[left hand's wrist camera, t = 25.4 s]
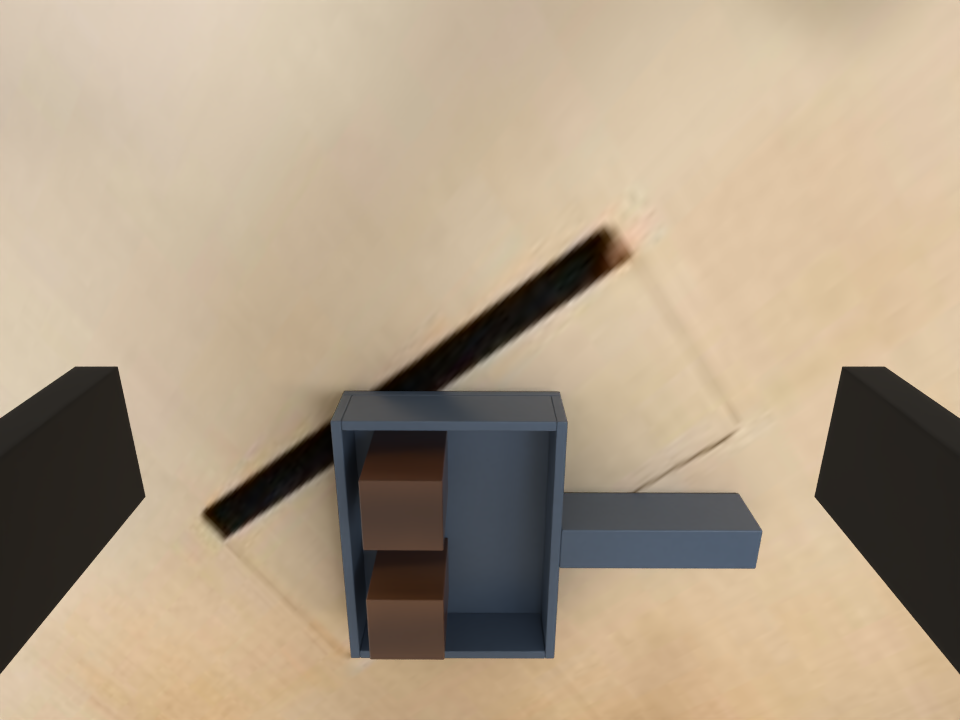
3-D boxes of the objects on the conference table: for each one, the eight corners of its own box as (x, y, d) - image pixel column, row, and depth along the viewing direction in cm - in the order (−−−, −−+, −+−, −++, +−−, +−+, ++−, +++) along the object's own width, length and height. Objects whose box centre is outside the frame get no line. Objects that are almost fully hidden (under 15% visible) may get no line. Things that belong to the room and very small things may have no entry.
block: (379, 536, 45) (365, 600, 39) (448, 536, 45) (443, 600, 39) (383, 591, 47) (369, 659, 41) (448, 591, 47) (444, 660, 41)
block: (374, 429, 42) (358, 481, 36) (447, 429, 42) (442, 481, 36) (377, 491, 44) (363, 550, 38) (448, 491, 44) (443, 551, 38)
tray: (361, 613, 48) (350, 658, 44) (343, 390, 42) (330, 421, 38) (718, 614, 48) (738, 659, 44) (755, 392, 42) (783, 422, 38)
